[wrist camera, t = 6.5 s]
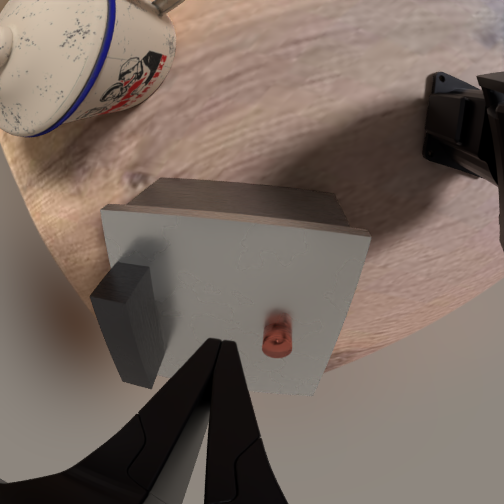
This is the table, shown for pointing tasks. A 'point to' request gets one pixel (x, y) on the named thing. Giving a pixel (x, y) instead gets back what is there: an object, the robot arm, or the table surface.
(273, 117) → the table surface
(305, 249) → the box lid
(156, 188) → the metal box
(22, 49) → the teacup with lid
